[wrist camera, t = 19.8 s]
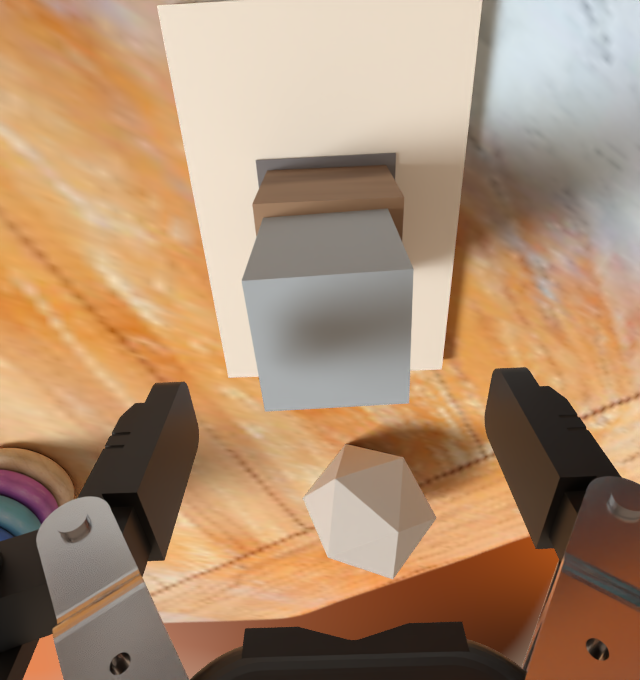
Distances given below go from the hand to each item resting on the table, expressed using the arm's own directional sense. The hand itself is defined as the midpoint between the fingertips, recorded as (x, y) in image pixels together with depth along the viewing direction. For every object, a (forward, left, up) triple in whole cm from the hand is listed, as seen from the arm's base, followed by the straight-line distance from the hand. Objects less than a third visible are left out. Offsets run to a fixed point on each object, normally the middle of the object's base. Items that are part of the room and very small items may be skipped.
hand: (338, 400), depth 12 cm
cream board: (0, 0, -16) cm, 16 cm away
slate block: (0, 0, -9) cm, 9 cm away
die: (+20, +2, -16) cm, 26 cm away
